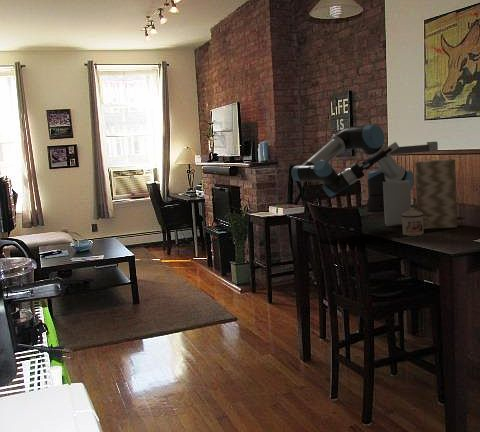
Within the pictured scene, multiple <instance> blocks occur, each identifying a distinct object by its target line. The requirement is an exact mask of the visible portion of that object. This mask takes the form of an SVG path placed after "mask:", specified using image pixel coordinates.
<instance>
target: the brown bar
mask: <svg viewBox="0 0 480 432" xmlns="http://www.w3.org/2000/svg"><path fill="white" fill-rule="evenodd" d="M438 145H439V144H438V141H426V144H418V145H416V144H415V145H407V146H399V148H397V149H396V150H394V151H393V152H391V153H390V154H388V155H391V156H392V155H400V154H413V153H426V152H438V151H439V147H438ZM386 148H387V147H385V148H381V152H382V151H384V150H385V149H386Z"/></svg>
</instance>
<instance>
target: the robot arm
mask: <svg viewBox="0 0 480 432" xmlns="http://www.w3.org/2000/svg"><path fill="white" fill-rule="evenodd" d="M384 142H385V135H384V130H383V129H382V127H381V126H379V125H377V124H364V125H356V126H349V127H346V128H344V129H342V130H340V131H338V132H337V133H335V134H334V135H333V136H332V137H331V138H329V140H328V142H327V143H326V144H325V145H324V146H323V147H322V148H320V149H319V150H318V151H317V152H315V153H314V154H313V155H312V156H310V157H309V158H308V159H307V160H306V161H305V162H303V163H302V164H298V165H295V166H293V167H292V168H291V172H290V173H291V178H292V179H293V180H294V181H296V182H320V181H321V182H322V183H323V184H322V185H321V187H322V189H323V191H324V192H325V193H326V195H327V196H328V197H330V198H332V197H334V196H335V195H337V194H339V193H340V192H342V191H343V190H345V189H346V188H348V187H349V186H351V185H353V184H355V183H356V182H357V181H358V180H361V179H362V178H363V177H364V176H365V173H364V172H363V171H365V170H366V171H367V170H369V169H370V168H371V167H372V166H374V165H375V164H376V165H377V167H378V168H379V170H373V171H368V173H367V176H366V177H367V178H366V181H367V195H368V198H367V202H366V205H365V211H367V212H373V213H375V212H376V213H377V212H378V213H379V212H384V194H383V182H388V181H402V180H409V182H410V191H412V189H413V187H414V184H415V175H414V173H413V171H412V170H406V169H405V168H404V167H403V166H402V165H400V164H398V163H397V162H396V160H395V159H394V158H393V156H392V154H391V155H388V154H390V153H391V152H393V151H394V150H396V149H397V148H399V147H400V146H399V144H398V143H397V142H396V141H395V142H393V143H391V144H389V146H387V147H386V146H385V145H384ZM381 148H386V149H385V150H384V151H382V152H381ZM348 150H361V151H362V152H363V154H364V155H367V156H370V157H369V158H367V159H366V160H363V161H362V162H361V165H359V164H358V162H354V163H353V164H351V165H349V167H347V168H345V169H344V168H343V169H342V171H341V172H339V173H338V172H336V170H335V169H334V168H333V166H332V164H331V163H329V162H330V161H332V160H333V159H334V158H335V157H336V156H337V155H339V154H342V153H344V152H345V151H348Z"/></svg>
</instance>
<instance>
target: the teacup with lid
mask: <svg viewBox="0 0 480 432" xmlns="http://www.w3.org/2000/svg"><path fill="white" fill-rule="evenodd" d="M401 216H402V224H401V226H402V234H403V236H405V235H407V237H418V236H417V235H419V236H422V234H423V235H424V233H425V232H424V230H425V229H424V228H427V227H428V226H429V225H430V218H428V217H423V213H422V212H419V211H417V209H415V207H411V208H410V210H408V211H407V212H405V213H403V214H402V215H401ZM424 218H427V219H428V224H427V225H426V226H424V227H423V219H424Z"/></svg>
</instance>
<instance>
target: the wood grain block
mask: <svg viewBox="0 0 480 432" xmlns="http://www.w3.org/2000/svg"><path fill="white" fill-rule="evenodd" d="M414 165H415V167H414V169H415V170H414V171H415V172H414V173H415V190H416V193H415V194H416V210H417V211H419V212H422V213H423V217H428V218H430V225H429V226H428V227H427V228H424V230H425V229H427V230H428V229H445V228H447V229H448V228H458V211H457V210H458V209H457V208H458V206H457V205H458V204H457V179H456V178H457V177H456V176H457V174H456V160H455V159H453V158H447V159H445V158H444V159H434V160H421V161H414ZM427 224H428V219H427V218H424V219H423V227H424V226H426V225H427Z"/></svg>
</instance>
